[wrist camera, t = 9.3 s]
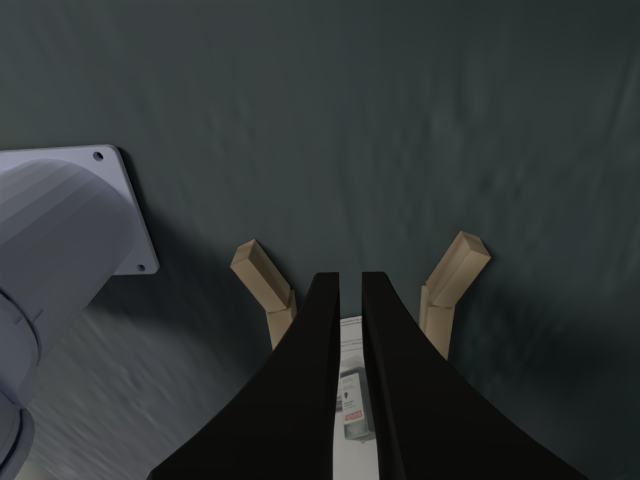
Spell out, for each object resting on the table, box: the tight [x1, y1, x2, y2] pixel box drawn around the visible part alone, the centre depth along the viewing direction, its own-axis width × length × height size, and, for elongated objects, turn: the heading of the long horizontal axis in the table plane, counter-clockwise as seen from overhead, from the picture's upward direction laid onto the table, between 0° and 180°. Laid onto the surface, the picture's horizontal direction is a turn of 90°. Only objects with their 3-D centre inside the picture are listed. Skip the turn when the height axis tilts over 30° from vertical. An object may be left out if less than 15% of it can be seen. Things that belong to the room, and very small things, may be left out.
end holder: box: [230, 231, 491, 360], centre depth 27 cm, size 14×21×2 cm, turn 4°
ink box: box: [333, 316, 379, 480], centre depth 23 cm, size 9×5×12 cm, turn 15°
